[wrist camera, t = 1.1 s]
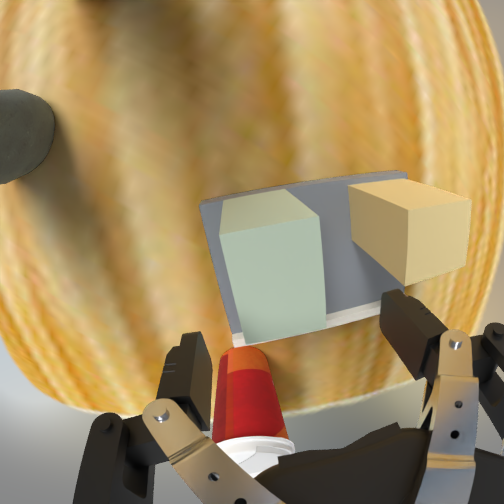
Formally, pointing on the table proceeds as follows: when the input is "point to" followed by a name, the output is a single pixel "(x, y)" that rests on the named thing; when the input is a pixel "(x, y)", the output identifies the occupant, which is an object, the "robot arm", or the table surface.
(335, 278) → the display board
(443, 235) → the mustard box
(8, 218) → the table surface
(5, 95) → the bottle
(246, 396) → the paper cup
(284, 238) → the tea box
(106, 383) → the table surface
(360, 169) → the table surface
